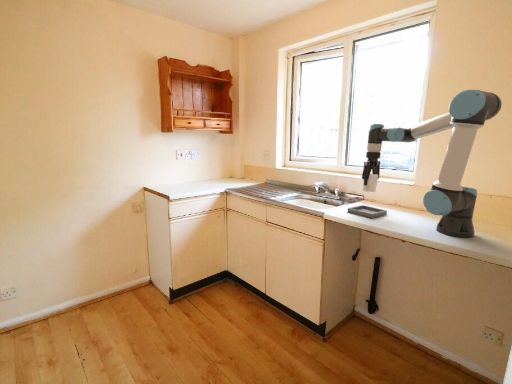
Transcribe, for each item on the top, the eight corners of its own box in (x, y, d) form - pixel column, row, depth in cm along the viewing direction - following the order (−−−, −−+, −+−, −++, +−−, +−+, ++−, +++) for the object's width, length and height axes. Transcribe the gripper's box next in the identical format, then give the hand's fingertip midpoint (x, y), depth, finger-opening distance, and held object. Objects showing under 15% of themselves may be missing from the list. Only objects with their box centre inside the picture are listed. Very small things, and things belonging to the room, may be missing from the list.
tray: (386, 214, 166) (387, 210, 165) (371, 218, 156) (372, 214, 156) (362, 208, 178) (362, 204, 178) (347, 212, 169) (347, 208, 168)
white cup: (377, 192, 160) (379, 175, 158) (363, 191, 162) (365, 174, 160) (374, 190, 168) (376, 173, 166) (361, 189, 169) (362, 173, 167)
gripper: (377, 150, 169) (372, 187, 174) (357, 151, 157) (353, 190, 161) (389, 151, 163) (384, 189, 168) (369, 151, 151) (365, 192, 156)
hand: (369, 190), depth 165 cm, fingers closed on white cup, 7 cm apart
